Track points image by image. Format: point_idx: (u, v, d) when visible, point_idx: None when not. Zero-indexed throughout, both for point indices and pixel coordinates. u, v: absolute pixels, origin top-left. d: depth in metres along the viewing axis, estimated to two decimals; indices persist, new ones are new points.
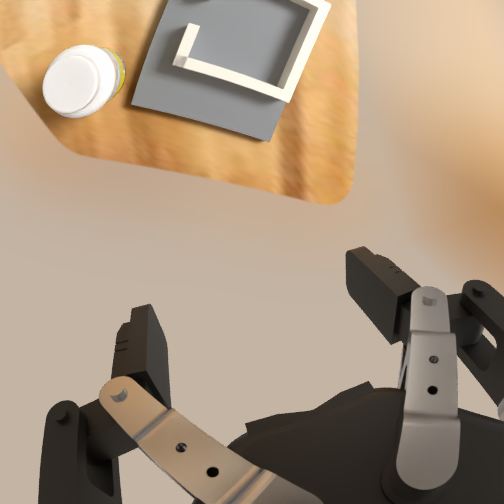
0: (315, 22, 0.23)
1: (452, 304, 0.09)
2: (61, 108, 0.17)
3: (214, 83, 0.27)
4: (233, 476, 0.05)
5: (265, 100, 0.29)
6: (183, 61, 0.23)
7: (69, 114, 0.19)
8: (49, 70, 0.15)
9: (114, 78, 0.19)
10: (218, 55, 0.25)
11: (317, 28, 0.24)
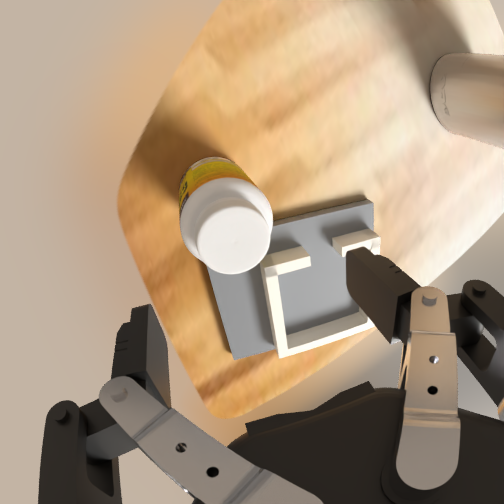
0: (354, 329, 0.32)
1: (452, 304, 0.09)
2: (202, 248, 0.17)
3: (258, 298, 0.30)
4: (233, 476, 0.05)
5: (266, 337, 0.33)
6: (271, 274, 0.27)
7: (188, 239, 0.18)
8: (242, 209, 0.16)
9: None
10: (285, 285, 0.30)
11: (350, 333, 0.33)
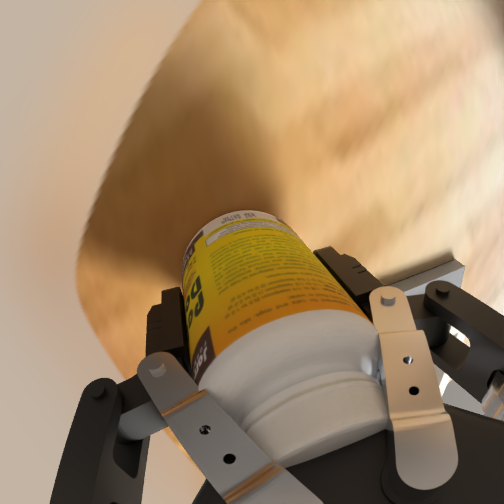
0: None
1: (414, 304, 0.09)
2: None
3: None
4: (248, 466, 0.05)
5: None
6: None
7: None
8: (369, 425, 0.05)
9: None
10: None
11: None
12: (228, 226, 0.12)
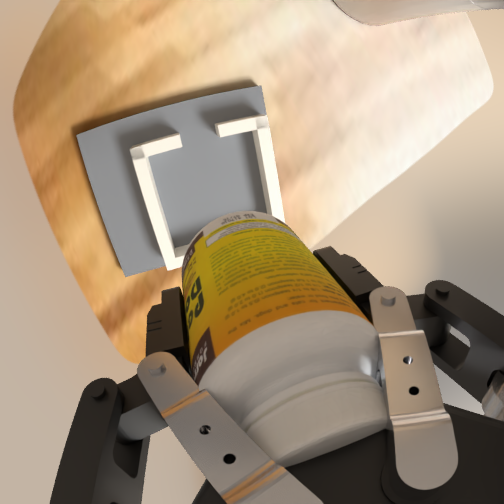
0: None
1: (414, 304, 0.09)
2: None
3: (139, 195, 0.26)
4: (248, 466, 0.05)
5: (156, 247, 0.29)
6: (138, 156, 0.23)
7: None
8: (368, 425, 0.05)
9: None
10: (167, 179, 0.26)
11: None
12: (228, 227, 0.12)
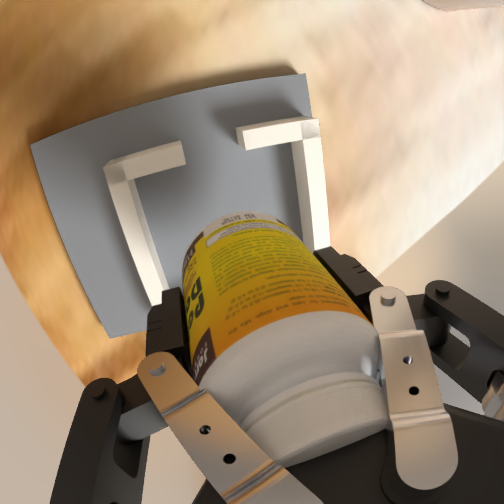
0: None
1: (414, 304, 0.09)
2: None
3: (122, 233, 0.18)
4: (248, 466, 0.05)
5: (149, 304, 0.20)
6: (117, 179, 0.15)
7: None
8: (369, 426, 0.05)
9: None
10: (162, 211, 0.18)
11: None
12: (228, 227, 0.12)
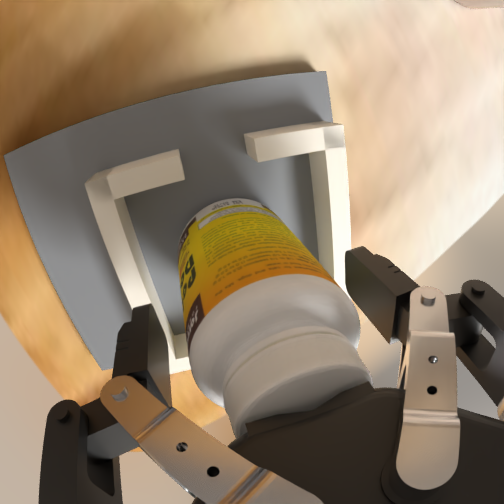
0: None
1: (451, 304, 0.09)
2: None
3: (111, 258, 0.15)
4: (234, 476, 0.05)
5: None
6: (101, 197, 0.12)
7: (208, 391, 0.09)
8: (335, 369, 0.07)
9: None
10: (157, 233, 0.15)
11: None
12: (218, 212, 0.13)
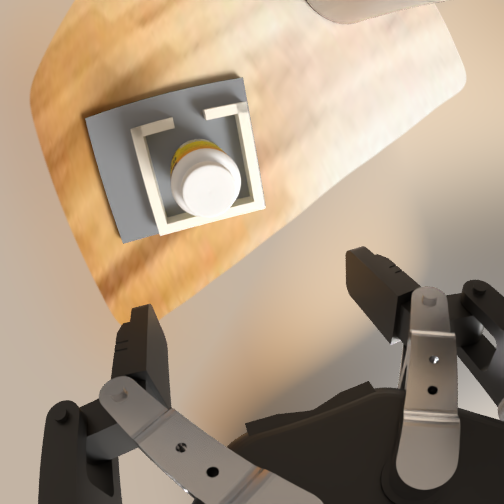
0: (239, 208, 0.33)
1: (452, 304, 0.09)
2: (186, 197, 0.22)
3: (137, 170, 0.30)
4: (233, 476, 0.05)
5: (151, 217, 0.33)
6: (137, 135, 0.27)
7: (176, 194, 0.24)
8: (214, 167, 0.22)
9: None
10: (161, 157, 0.30)
11: (235, 212, 0.33)
12: (188, 142, 0.29)
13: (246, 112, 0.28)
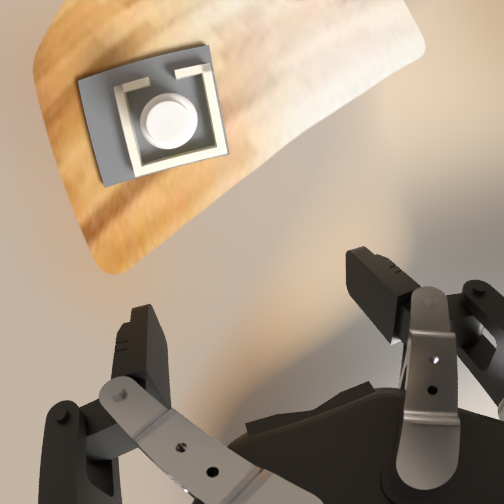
0: (204, 152, 0.36)
1: (452, 304, 0.09)
2: (149, 126, 0.26)
3: (118, 122, 0.34)
4: (233, 476, 0.05)
5: (129, 163, 0.36)
6: (119, 91, 0.30)
7: (143, 129, 0.27)
8: (171, 102, 0.25)
9: (181, 144, 0.29)
10: (139, 111, 0.34)
11: (201, 157, 0.36)
12: None
13: (209, 71, 0.32)
